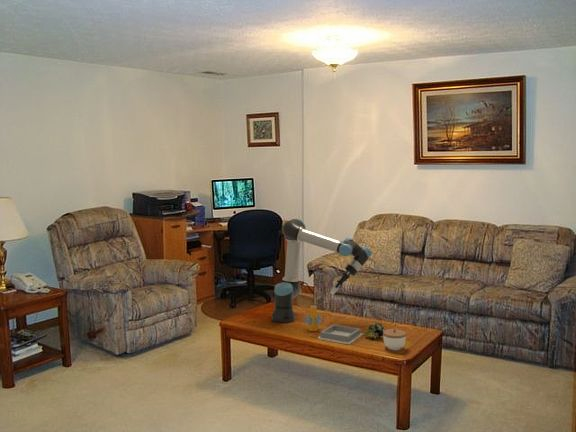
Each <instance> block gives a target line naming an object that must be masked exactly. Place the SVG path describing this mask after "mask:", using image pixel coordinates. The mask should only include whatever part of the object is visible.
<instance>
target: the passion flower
mask: <svg viewBox="0 0 576 432" xmlns="http://www.w3.org/2000/svg"><path fill="white" fill-rule="evenodd" d="M384 330H386V329H385V326H383V323H381V322H375V323H374V324H373V323H372V324H370V323H369V324H368V328H367V330H366V331H365V332H364V337H366V338H367V337H368V336H369V335H370V338H371V339H373V337H374V339H373V341H375V340H376V339H377V337H379V338H380V337H383V331H384Z"/></svg>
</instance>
